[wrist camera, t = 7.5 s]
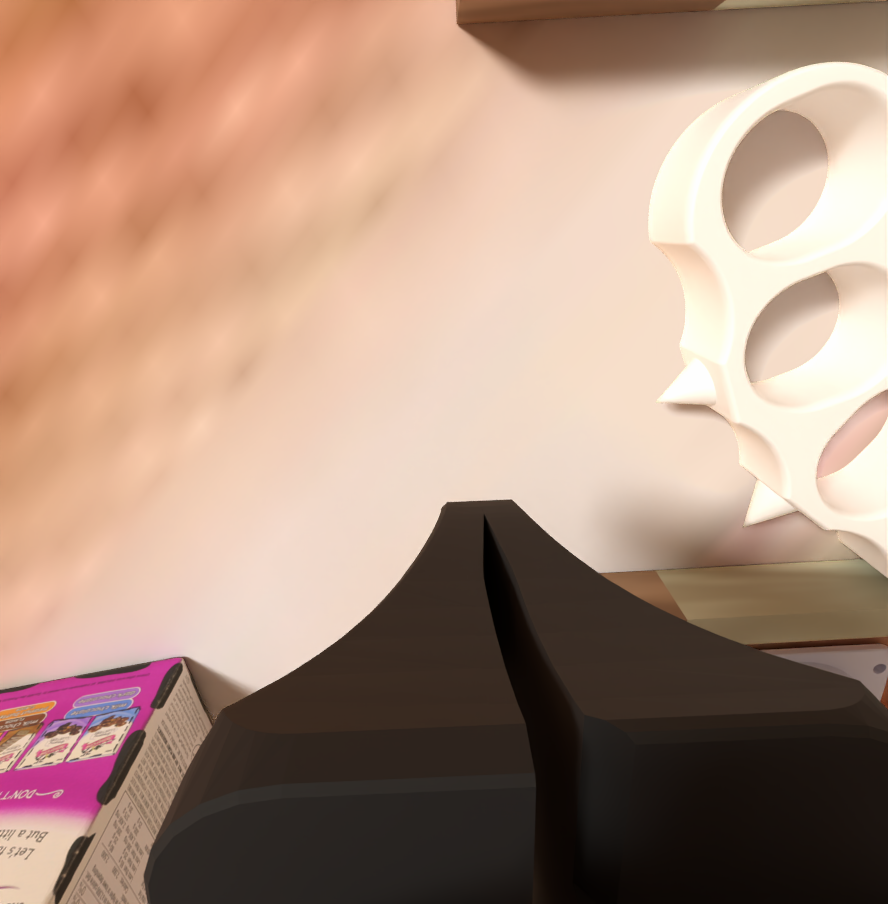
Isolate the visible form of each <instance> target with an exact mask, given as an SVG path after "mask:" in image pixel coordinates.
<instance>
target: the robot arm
mask: <svg viewBox="0 0 888 904" xmlns="http://www.w3.org/2000/svg"><path fill="white" fill-rule="evenodd" d="M887 678H888V647H887V646H886V645H884V644H863V645H845V646H827V647H809V648H790V649H772V650H757V649H755V648H752V647H749V646H747V645H744V644H741V643H738V642H736V641H733V640H730V639H728V638H725V637H722V636H720V635H717V634H715V633H713V632H710V631H708V630H705V629H703V628H700V627H698V626H696V625H693V624H691V623H689V622H687V621H685V620H683V619H681V618H678V617H676V616H674V615H672V614H670V613H668V612H666V611H664V610H662V609H659V608H657V607H655V606H654V605H652V604H650V603H648V602H646V601H644V600H642V599H640V598H638V597H637V596H635V595H633V594H632V593H630V592H628V591H627V590H625V589H623V588H622V587H620V586H618V585H616V584H615V583H613V582H611V581H610V580H608V579H607V578H605V577H604V576H602V575H601V574H599V573H598V572H596V571H595V570H593V569H592V568H591V567H589V566H588V565H586V564H585V563H584V562H582V561H581V560H580V559H578V558H577V557H576V556H574V555H573V554H572V553H570V552H569V551H568V550H567V549H565V548H564V547H563V546H562V545H560V544H559V543H558V542H557V541H556V540H554V539H553V538H552V537H551V536H550V535H549V534H547V533H546V532H545V531H544V530H543V529H542V528H541V527H540V526H539V525H538V524H537V523H536V522H535V521H533V520H532V519H531V518H530V517H529V516H528V515H527V514H526V513H525V512H524V511H523V510H522V509H521V508H520V507H519V506H518V505H517V504H516V503H515V502H514V501H513V500H490V501H467V502H447V503H446V504H445V505H444V506H443V507H442V508H441V513H440V516H439V518H438V521H437V523H436V525H435V527H434V529H433V531H432V533H431V535H430V537H429V538H428V540H427V542H426V543H425V545H424V547H423V548H422V550H421V552H420V553H419V555H418V556H417V558H416V559H415V561H414V562H413V563H412V565H411V566H410V567H409V569H408V570H407V571H406V573H405V574H404V576H403V577H402V578H401V580H400V581H399V582H398V583H397V584H396V586H395V587H394V588H393V589H392V590H391V592H390V593H389V594H388V595H387V596H386V597H385V598H384V599H383V600H382V601H381V602H380V604H379V605H378V606H377V607H376V608H375V609H374V610H373V611H372V612H371V613H370V614H369V615H367V616H366V617H365V618H364V619H363V620H362V621H361V622H360V623H358V624H357V625H356V626H355V627H354V628H353V629H351V630H350V631H349V632H348V633H347V634H346V635H344V636H343V637H342V638H341V639H339V640H338V641H337V642H335V643H334V644H333V645H331V646H330V647H328V648H327V649H326V650H324V651H323V652H321V653H320V654H319V655H317V656H315V657H314V658H312V659H311V660H309V661H308V662H306V663H305V664H303V665H302V666H300V667H299V668H297V669H295V670H294V671H292V672H291V673H289V674H287V675H286V676H284V677H282V678H280V679H279V680H277V681H275V682H273V683H271V684H269V685H267V686H266V687H264V688H262V689H260V690H258V691H256V692H255V693H253V694H251V695H249V696H247V697H245V698H244V699H242V700H240V701H238V702H236V703H234V704H232V705H230V706H228V707H226V708H224V709H222V711H221V712H220V714H219V715H218V717H217V719H216V721H215V722H214V724H213V726H212V728H211V729H210V731H209V733H208V734H207V736H206V738H205V739H204V741H203V742H202V744H201V745H200V747H199V749H198V751H197V753H196V754H195V756H194V758H193V760H192V762H191V763H190V765H189V767H188V769H187V771H186V773H185V775H184V777H183V779H182V781H181V783H180V786H179V788H178V790H177V792H176V794H175V797H174V799H173V801H172V803H171V806H170V808H169V810H168V812H167V814H166V817H165V819H164V821H163V823H162V825H161V828H160V830H159V832H158V834H157V837H156V839H155V841H154V843H153V845H152V848H151V850H150V854H149V858H148V861H147V865H146V869H145V872H144V876H143V877H144V883H145V890H146V896H147V903H148V904H888V709H887V708H886V707H885V706H884V705H883V704H882V703H881V702H880V701H881V698H882V694H883V691H884V688H885V685H886V681H887Z"/></svg>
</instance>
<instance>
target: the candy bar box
mask: <svg viewBox="0 0 888 904" xmlns="http://www.w3.org/2000/svg"><path fill="white" fill-rule="evenodd" d="M213 724H214V723H213V720H212V718H211V716H210V714H209V712H208V711H207V709H206V707H205V706H204V704H203V702H202V700H201V698H200V695H199V693H198V690H197V688H196V686H195V683H194V681H193V678H192V676H191V674H190V672H189V670H188V668H187V666H186V664H185V661H184V659H183V658H170V659H165V660H159V661H153V662H148V663H142V664H137V665H132V666H126V667H121V668H116V669H111V670H106V671H100V672H95V673H90V674H84V675H79V676H74V677H69V678H64V679H59V680H53V681H48V682H43V683H37V684H32V685H27V686H21V687H16V688H11V689H5V690H0V904H148V903H147V896H146V890H145V883H144V877H143V876H144V872H145V869H146V865H147V861H148V858H149V854H150V850H151V848H152V845H153V843H154V841H155V839H156V837H157V834H158V832H159V830H160V828H161V825H162V823H163V821H164V819H165V817H166V814H167V812H168V810H169V808H170V806H171V803H172V801H173V799H174V797H175V794H176V792H177V790H178V788H179V786H180V783H181V781H182V779H183V777H184V775H185V773H186V771H187V769H188V767H189V765H190V763H191V762H192V760H193V758H194V756H195V754H196V753H197V751H198V749H199V747H200V745H201V744H202V742H203V741H204V739H205V738H206V736H207V734H208V733H209V731H210V729H211V728H212V726H213Z"/></svg>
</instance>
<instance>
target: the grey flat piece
mask: <svg viewBox="0 0 888 904" xmlns="http://www.w3.org/2000/svg"><path fill="white" fill-rule="evenodd" d="M873 1H888V0H456V16H457V24H468V23H487V22H505V21H523V20H542V19H560V18H579V17H597V16H616V15H634V14H652V13H671V12H689V11H708V10H726V9H744V8H763V7H781V6H800V5H818V4H837V3H855V2H873ZM599 574H601V575H602V576H604V577H605V578H607V579H608V580H610V581H611V582H613V583H615V584H616V585H618V586H620V587H622V588H623V589H625V590H627V591H628V592H630V593H632V594H633V595H635V596H637V597H638V598H640V599H642V600H644V601H646V602H648V603H650V604H652V605H654V606H655V607H657V608H659V609H662V610H664V611H666V612H668V613H670V614H672V615H674V616H676V617H678V618H681V619H683V620H685V621H687V622H689V623H691V624H693V625H696V626H698V627H700V628H703V629H705V630H708V631H710V632H713V633H715V634H717V635H720V636H722V637H725V638H728V639H730V640H733V641H736V642H738V643H741V644H744V645H746V644H764V643H783V642H801V641H819V640H837V639H856V638H874V637H888V578H887V577H885V576H884V575H883V574H882V573H880V572H879V571H878V570H876V569H875V568H874V567H873V566H871V565H870V564H869V563H867V562H866V561H865V560H864V559H853V560H835V561H817V562H799V563H780V564H762V565H744V566H726V567H707V568H689V569H671V570H653V571H634V572H616V573H599Z"/></svg>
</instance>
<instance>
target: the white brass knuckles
mask: <svg viewBox="0 0 888 904" xmlns="http://www.w3.org/2000/svg"><path fill="white" fill-rule="evenodd" d="M777 110H786V111H791V112H795V113H797V114H800V115H802V116H804V117H805V118H807V119H808V120H809V121H811V122H812V123H813V124H814V125H815V127H816V128H817V129H818V130H819V132H820V134H821V135H822V137H823V140H824V142H825V145H826V149H827V154H828V174H827V180H826V184H825V187H824V190H823V193H822V195H821V198H820V200H819V202H818V204H817V205H816V207H815V209H814V210H813V212H812V213H811V214H810V216H809V217H808V218H807V219H806V220H805V221H804V222H803V223H802V224H801V225H800V226H799V227H798V228H797V229H796V230H795V231H793V232H792V233H790V234H789V235H787V236H786V237H784V238H782V239H780V240H778V241H775V242H773V243H770V244H768V245H765V246H763V247H760V248H758V249H755V250H753V251H750V252H747V251H745V250H744V249H743V248H742V247H741V246H740V245H739V244H738V243H737V242H736V241H735V240H734V238H733V237H732V235H731V234H730V232H729V230H728V228H727V225H726V222H725V219H724V215H723V208H722V189H723V183H724V178H725V174H726V171H727V168H728V165H729V163H730V160H731V158H732V156H733V154H734V152H735V150H736V149H737V147H738V145H739V144H740V142H741V141H742V140H743V138H744V137H745V136H746V135H747V133H748V132H749V131H750V130H751V129H752V128H753V127H754V126H755V125H756V124H757V123H759V122H760V121H761V120H762V119H764V118H765V117H767V116H768V115H770V114H771V113H773V112H775V111H777ZM648 226H649V238H650V242H651V243H652V244H654V245H655V246H656V247H657V248H659V249H660V250H661V251H662V252H663V253H664V254H665V255H666V257H667V258H668V259H669V260H670V262H671V263H672V265H673V266H674V268H675V270H676V272H677V274H678V276H679V278H680V281H681V283H682V287H683V291H684V296H685V304H686V318H685V326H684V331H683V335H682V339H681V342H680V349H681V353H682V356H683V360H684V363H685V367H686V368H685V369H684V370H683V371H682V372H681V373H680V375H679V376H678V377H677V378H676V379H675V380H674V382H673V383H672V384H671V385H670V386H669V387H668V389H667V390H666V391H665V392H664V393H663V394H662V395H661V397H660V398H659V399H658V400H657V401H656V402H655V403H673V404H697V405H707V406H708V407H710V408H711V409H713V410H714V411H716V412H717V413H719V414H720V415H722V416H723V417H725V418H726V420H727V421H728V422H729V424H730V425H731V427H732V429H733V431H734V433H735V435H736V438H737V442H738V446H739V464H740V466H742V467H743V468H744V469H746V470H747V471H748V472H749V473H751V474H752V475H753V476H755V477H756V478H757V482H756V485H755V489H754V492H753V495H752V499H751V502H750V505H749V509H748V512H747V515H746V519H745V522H744V525H743V527H747V526H750V525H753V524H757V523H760V522H763V521H766V520H770V519H773V518H776V517H779V516H783V515H786V514H789V513H793V512H796V511H800V512H801V513H802V514H804V515H805V516H806V517H807V518H809V519H810V520H811V521H813V522H814V523H815V524H817V525H818V526H819V527H820V528H822V529H824V530H837V533H838V538H839V541H840V542H842V543H843V544H844V545H845V546H847V547H848V548H849V549H851V550H852V551H853V552H854V553H856V554H857V555H858V556H860V557H861V558H862V559H864V560H865V561H866V562H867V563H869V564H870V565H871V566H873V567H874V568H875V569H876V570H878V571H879V572H880V573H882V574H883V575H884V576H885V577H887V578H888V418H887V420H886V423H885V425H884V426H883V428H882V430H881V431H880V433H879V434H878V435H877V437H876V438H875V439H874V440H873V441H872V442H871V443H870V444H869V445H868V446H867V447H866V448H865V449H864V450H863V451H862V452H861V453H860V454H859V455H858V456H857V457H856V458H855V459H854V460H853V461H852V462H851V463H849V464H848V465H847V466H845V467H844V468H842V469H841V470H839V471H837V472H835V473H833V474H831V475H828V476H825V477H821V478H817V467H818V463H819V460H820V457H821V454H822V452H823V450H824V448H825V447H826V445H827V443H828V442H829V440H830V439H831V438H832V436H833V435H834V434H835V433H836V432H837V431H838V430H839V429H840V428H841V427H842V426H843V425H844V424H845V423H846V422H847V421H848V419H849V418H850V417H851V416H852V415H853V414H854V413H855V412H856V411H857V410H858V409H859V408H860V407H861V406H862V405H864V404H865V403H866V402H867V401H869V400H870V399H871V398H873V397H874V396H876V395H878V394H879V393H881V392H883V391H885V390H888V75H887V74H885V73H883V72H881V71H879V70H877V69H875V68H872V67H869V66H865V65H861V64H856V63H850V62H825V63H818V64H812V65H808V66H804V67H800V68H797V69H794V70H791V71H789V72H786V73H784V74H782V75H779V76H777V77H775V78H772V79H770V80H768V81H765V82H763V83H761V84H758V85H756V86H754V87H752V88H749V89H747V90H745V91H742V92H740V93H738V94H735V95H733V96H731V97H729V98H727V99H725V100H723V101H721V102H719V103H718V104H716V105H714V106H713V107H711V108H710V109H708V110H707V111H706V112H704V113H703V114H702V115H701V116H699V117H698V118H697V119H696V120H695V121H694V122H693V123H692V124H691V125H690V126H689V127H688V128H687V129H686V130H685V131H684V132H683V134H682V135H681V136H680V137H679V139H678V140H677V141H676V143H675V144H674V145H673V147H672V148H671V150H670V152H669V153H668V155H667V157H666V158H665V160H664V162H663V164H662V166H661V169H660V171H659V173H658V176H657V178H656V181H655V184H654V188H653V191H652V196H651V201H650V207H649V219H648ZM824 272H826V273H827V274H828V275H829V276H830V277H831V279H832V280H833V282H834V284H835V286H836V288H837V291H838V296H839V315H838V319H837V323H836V326H835V328H834V331H833V333H832V335H831V337H830V338H829V340H828V342H827V343H826V344H825V346H824V347H823V348H822V349H821V350H820V352H819V353H818V354H817V355H816V356H814V357H813V358H812V359H811V360H809V361H808V362H807V363H805V364H804V365H802V366H800V367H798V368H796V369H794V370H791V371H789V372H786V373H783V374H781V375H778V376H775V377H773V378H770V379H767V380H764V381H760V382H754V383H751V382H750V380H749V378H748V375H747V371H746V366H745V350H746V344H747V340H748V337H749V334H750V331H751V329H752V327H753V325H754V323H755V321H756V319H757V318H758V316H759V315H760V313H761V312H762V311H763V309H764V308H765V307H766V306H767V305H768V304H769V303H770V302H771V301H772V300H773V299H774V298H775V297H776V296H777V295H778V294H780V293H781V292H782V291H784V290H785V289H787V288H789V287H790V286H792V285H794V284H796V283H798V282H801V281H803V280H806V279H809V278H811V277H814V276H816V275H819V274H821V273H824Z"/></svg>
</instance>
